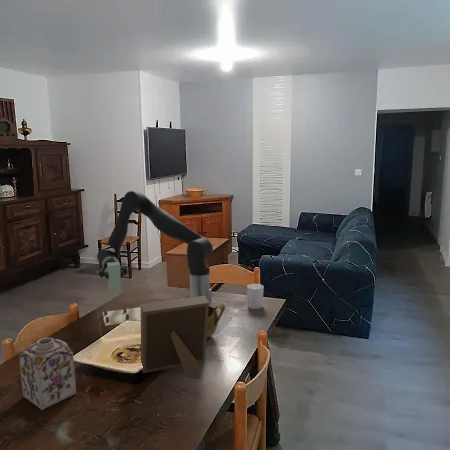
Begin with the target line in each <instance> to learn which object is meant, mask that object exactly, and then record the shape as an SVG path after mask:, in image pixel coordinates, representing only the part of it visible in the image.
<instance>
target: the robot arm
mask: <svg viewBox="0 0 450 450" xmlns="http://www.w3.org/2000/svg"><path fill="white" fill-rule="evenodd" d="M134 211H135V212H139V213H140V214H142V215H144V216H146V217H147V218H148V219H149V220H150V222H151V224H153V226H154V227H155V228H156V229H157V230H158V231H159V232H161V233H162V234H163V235H166V236H167V237H168V238H172V239H175V240H177V241H179V242H182V243H184V244H187V247H186V257H187V268H188V270H189V293H190V294H189V295H190V297H189V298H192V297H199V296H205V297H206V298H207V300H208V302H209V306H212V304H213V303H212V302H213V301H212V289H211V282H210V281H211V276H210V275H211V274H210V270H211V269H210V267H209V266H208V264H207V265H206V260H205V259H206V258H208V256H210V255H211V254H212V253H213V250H214V249H213V248H214V247H213V245H212V242H211V241H210V240H209V239H208V238H206V237H204V236H203V235H201V234H199V233H197V232H195V231H194V230H192V229H191V228H190V227H188V226H187V225H186V224H184V223H183V222H181V221H180V220H178V219H177V218H176V217H174V216H173V215H172V214H171V213H168V212H167V211H166V210H164V209H163V208H161V207H159V206H157V205H156V204H155V203H154V202H152V200H150V199H149V198H148V197H147V195H145V194H143V193H142V192H140V191H139V192H138V191H134V190H130V191H129V190H128V191H127V192H126V193H125V194H124V196H123V198H122V201H121V205H120V209H119V211H118V214H117V219H116V221H115V224H114V227H113V230H112V231H111V234H110V236H109V238H108V241H107V245H108V246H110V247H111V248H112V249H113V250H114V251H112V250H110V249H107V248H102V249H100V250H98V252H97V254H96V255H97V257H96V259H97V261H98V263H99V264H101V266H102V268H96V275H97V276H99V277H100V278H103V277H104V278H105V279H107V280H108V279H109V274H108V271H107V263H110V262H120V261H119V260H120V253H121V249H122V246H123V244H124V242H125V239H126V237H127V235H128V232H129V231H128V230H129V229H128V227H129V220H130V219H131V215H133V212H134ZM128 272H129V266H128V265H125V266H123V267H122V266H121V265H120V277H121V279H122V278H123V277H124V276H125V275H128ZM212 307H213V306H212Z"/></svg>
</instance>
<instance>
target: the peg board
mask: <svg viewBox="0 0 450 450" xmlns="http://www.w3.org/2000/svg"><path fill="white" fill-rule="evenodd" d="M102 317H103V321H104V326H112V325H120V324H125V323H124V322H126V321H135V322H141V306H140V307H139V306H138V307H131V308H127V307H126V306H125V307H123V308H122V309H117V310H109V311H108V310H107V309H104V310H103V311H102Z"/></svg>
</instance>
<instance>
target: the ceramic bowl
mask: <svg viewBox="0 0 450 450" xmlns="http://www.w3.org/2000/svg"><path fill="white" fill-rule="evenodd" d="M177 299H179V298H175V299H174V300H177ZM218 308H219V309H220V312H219V315H218V310H217V309H218ZM225 310H226V306H225V304H224V303H223V302H220V303H218V304H216V306H215V307H214V306H209V311H208V324H207V336H206V340H207V339H208V338H210V337H211V336H212V335H213V334H214V333H215V332H216V330H217V328H218V324H219V321H220V320H221V317H222V316H223V313H224V311H225Z"/></svg>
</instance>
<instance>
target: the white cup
mask: <svg viewBox="0 0 450 450" xmlns="http://www.w3.org/2000/svg"><path fill="white" fill-rule="evenodd" d="M264 289H265V288H264V285H263V284H259V283H251V284H248V285H246V295H247V296H246V297H247V307H248V308H249V309H253V310H258V309H262V308H263V301H264Z"/></svg>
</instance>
